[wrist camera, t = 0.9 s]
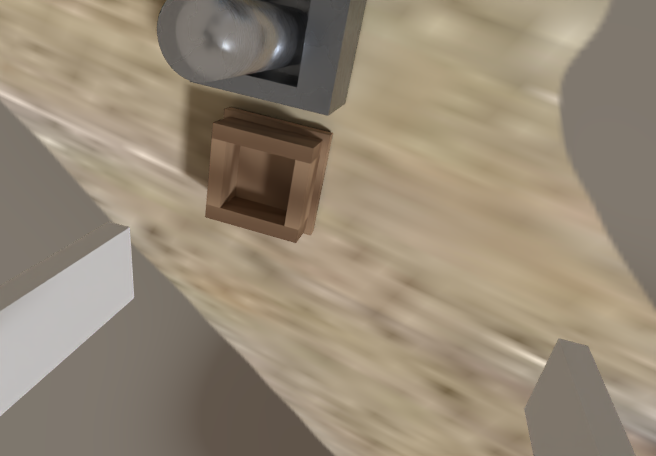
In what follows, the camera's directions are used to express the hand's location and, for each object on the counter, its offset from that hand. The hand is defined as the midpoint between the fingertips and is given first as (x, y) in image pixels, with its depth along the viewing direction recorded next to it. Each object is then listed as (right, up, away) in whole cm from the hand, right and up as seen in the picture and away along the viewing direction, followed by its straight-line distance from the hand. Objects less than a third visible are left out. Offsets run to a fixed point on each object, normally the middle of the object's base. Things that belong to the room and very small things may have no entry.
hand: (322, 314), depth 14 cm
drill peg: (-3, +17, +19) cm, 26 cm away
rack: (-5, +8, +25) cm, 26 cm away
